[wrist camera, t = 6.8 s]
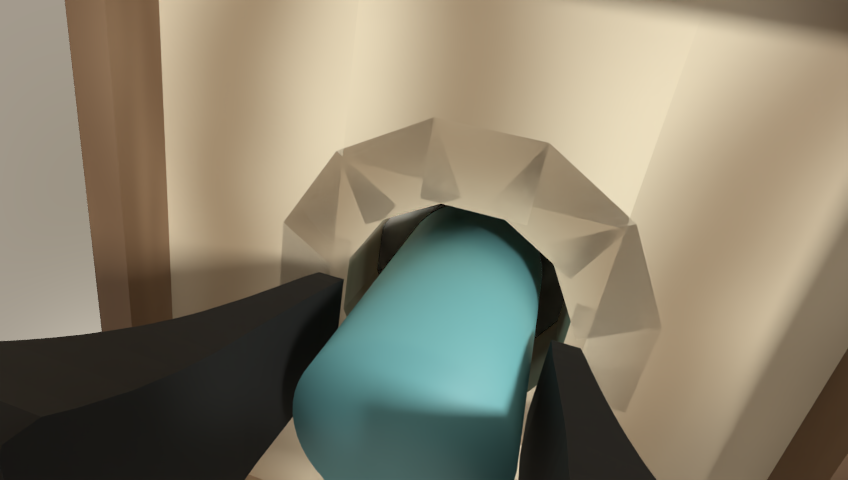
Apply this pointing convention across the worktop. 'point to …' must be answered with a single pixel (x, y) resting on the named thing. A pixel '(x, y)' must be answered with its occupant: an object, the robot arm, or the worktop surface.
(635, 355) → the walnut box
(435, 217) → the peg
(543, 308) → the worktop surface
